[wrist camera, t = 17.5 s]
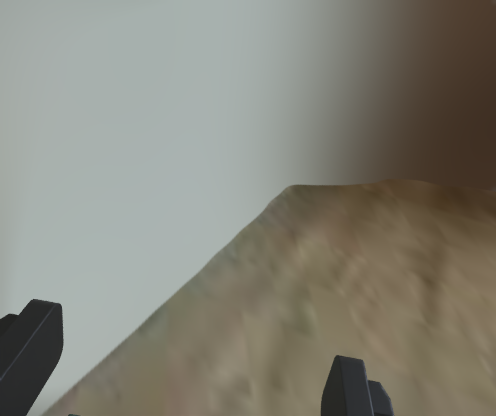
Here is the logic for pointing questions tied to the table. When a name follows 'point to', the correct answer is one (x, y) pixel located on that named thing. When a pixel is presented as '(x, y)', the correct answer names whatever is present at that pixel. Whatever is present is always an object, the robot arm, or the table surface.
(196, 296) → the table surface
